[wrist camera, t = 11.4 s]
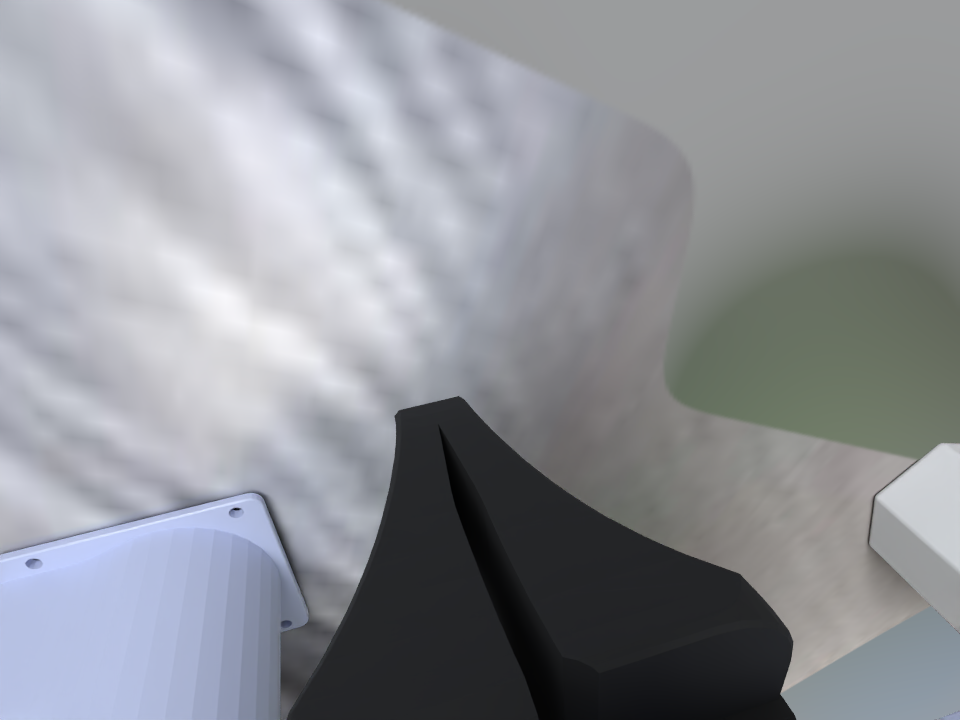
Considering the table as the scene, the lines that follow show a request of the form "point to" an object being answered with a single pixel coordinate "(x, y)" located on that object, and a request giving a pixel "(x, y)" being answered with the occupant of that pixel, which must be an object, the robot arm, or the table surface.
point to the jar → (924, 528)
